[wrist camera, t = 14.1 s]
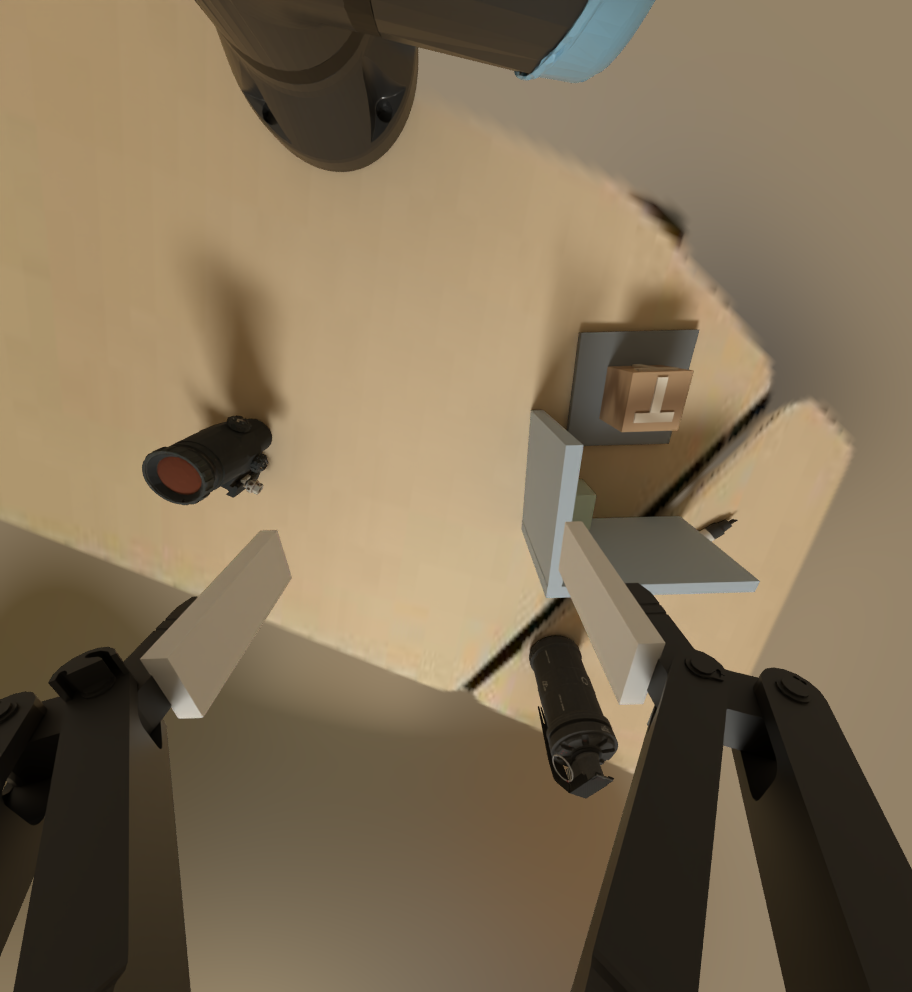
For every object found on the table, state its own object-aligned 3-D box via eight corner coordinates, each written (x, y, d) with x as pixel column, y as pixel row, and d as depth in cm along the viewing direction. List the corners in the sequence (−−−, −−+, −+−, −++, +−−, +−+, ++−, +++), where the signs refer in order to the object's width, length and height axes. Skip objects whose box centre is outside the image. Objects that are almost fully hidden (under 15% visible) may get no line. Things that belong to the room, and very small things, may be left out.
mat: (579, 332, 38) (581, 332, 37) (694, 329, 38) (699, 329, 37) (564, 444, 43) (566, 446, 43) (665, 441, 43) (668, 443, 43)
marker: (638, 574, 54) (644, 582, 52) (632, 566, 53) (638, 575, 51) (732, 519, 49) (743, 527, 48) (728, 510, 49) (738, 517, 47)
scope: (111, 507, 31) (131, 416, 27) (208, 456, 43) (230, 388, 40) (202, 546, 33) (232, 466, 29) (269, 487, 45) (297, 425, 42)
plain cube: (545, 479, 46) (555, 496, 41) (582, 478, 46) (596, 495, 41) (542, 511, 48) (551, 530, 43) (577, 510, 48) (590, 529, 44)
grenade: (588, 644, 60) (647, 777, 42) (549, 678, 64) (588, 813, 46) (548, 625, 58) (593, 757, 40) (511, 661, 62) (536, 797, 44)
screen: (530, 410, 41) (565, 445, 29) (714, 405, 41) (829, 438, 29) (521, 529, 49) (546, 597, 37) (676, 524, 49) (754, 591, 37)
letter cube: (608, 364, 38) (634, 370, 33) (660, 362, 38) (695, 368, 33) (599, 418, 41) (622, 432, 36) (648, 417, 41) (679, 430, 36)
